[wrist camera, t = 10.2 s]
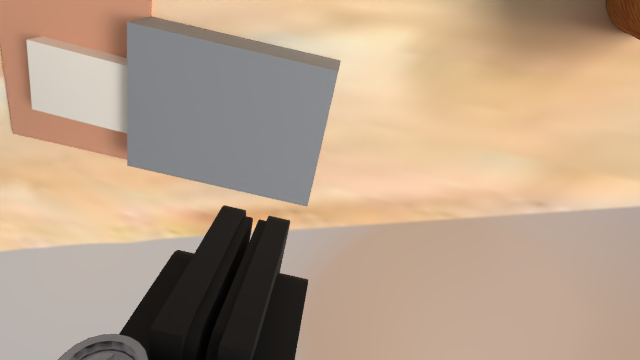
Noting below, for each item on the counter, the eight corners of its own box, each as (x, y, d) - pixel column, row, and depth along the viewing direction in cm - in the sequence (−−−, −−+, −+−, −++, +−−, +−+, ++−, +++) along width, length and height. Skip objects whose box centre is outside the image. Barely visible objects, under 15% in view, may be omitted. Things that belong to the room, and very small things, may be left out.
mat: (15, 131, 40) (12, 133, 40) (-8, -40, 34) (-12, -41, 33) (148, 162, 41) (146, 163, 40) (151, -3, 34) (149, -3, 33)
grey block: (148, 148, 40) (127, 165, 36) (151, 16, 34) (126, 22, 31) (312, 185, 40) (307, 206, 37) (340, 60, 35) (338, 71, 31)
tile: (47, 102, 38) (32, 109, 37) (43, 36, 36) (26, 39, 34) (143, 127, 39) (133, 135, 37) (146, 63, 36) (135, 68, 34)
